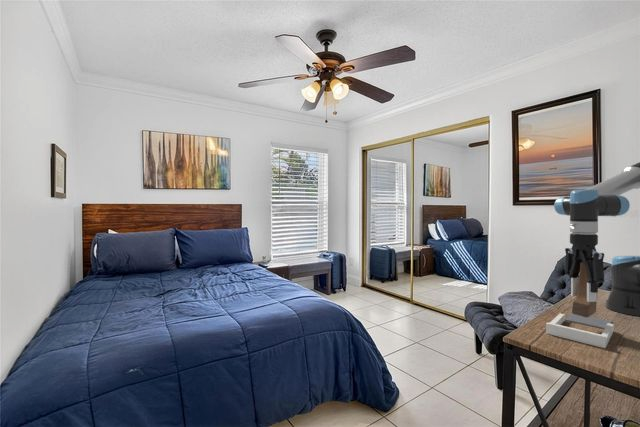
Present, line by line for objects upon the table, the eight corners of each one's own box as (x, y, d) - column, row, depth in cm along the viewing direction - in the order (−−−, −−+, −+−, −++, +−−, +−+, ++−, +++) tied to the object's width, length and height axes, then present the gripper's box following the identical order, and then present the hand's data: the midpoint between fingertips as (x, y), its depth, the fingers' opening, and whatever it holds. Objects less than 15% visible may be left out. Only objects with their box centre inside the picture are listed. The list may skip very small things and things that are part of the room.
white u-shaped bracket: (559, 319, 118) (559, 310, 118) (613, 331, 107) (613, 321, 106) (546, 333, 105) (546, 323, 105) (605, 348, 94) (605, 337, 94)
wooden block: (587, 318, 104) (592, 266, 103) (571, 313, 108) (575, 263, 106) (595, 312, 109) (600, 263, 108) (580, 308, 113) (584, 260, 111)
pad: (571, 313, 124) (571, 312, 124) (611, 322, 115) (611, 321, 115) (564, 320, 117) (564, 319, 117) (607, 329, 108) (607, 328, 108)
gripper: (552, 231, 117) (552, 291, 118) (596, 236, 98) (596, 307, 99) (572, 231, 117) (572, 291, 118) (620, 235, 98) (620, 307, 99)
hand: (583, 298), depth 108 cm, fingers closed on wooden block, 6 cm apart
